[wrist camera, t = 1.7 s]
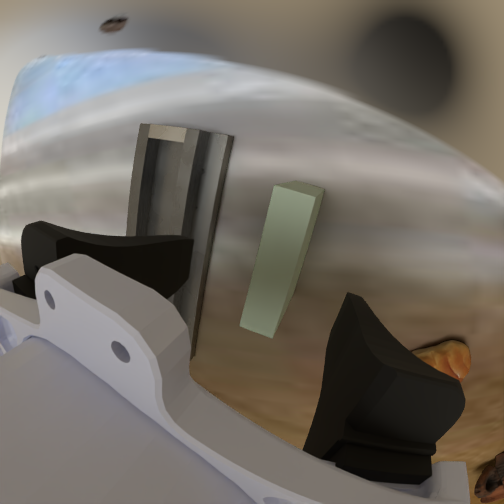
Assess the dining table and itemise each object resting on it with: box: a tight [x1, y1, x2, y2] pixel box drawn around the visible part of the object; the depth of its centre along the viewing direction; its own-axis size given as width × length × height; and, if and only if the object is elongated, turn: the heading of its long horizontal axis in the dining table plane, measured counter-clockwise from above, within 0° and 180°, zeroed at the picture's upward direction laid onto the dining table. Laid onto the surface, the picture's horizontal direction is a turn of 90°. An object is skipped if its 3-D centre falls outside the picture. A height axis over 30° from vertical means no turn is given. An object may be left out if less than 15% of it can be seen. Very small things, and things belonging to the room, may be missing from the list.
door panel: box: [240, 181, 325, 338], centre depth 17 cm, size 8×2×6 cm, turn 167°
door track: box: [126, 123, 234, 360], centre depth 22 cm, size 20×8×2 cm, turn 167°
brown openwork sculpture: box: [475, 452, 504, 503], centre depth 15 cm, size 12×10×8 cm
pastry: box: [412, 340, 471, 383], centre depth 17 cm, size 9×7×4 cm
